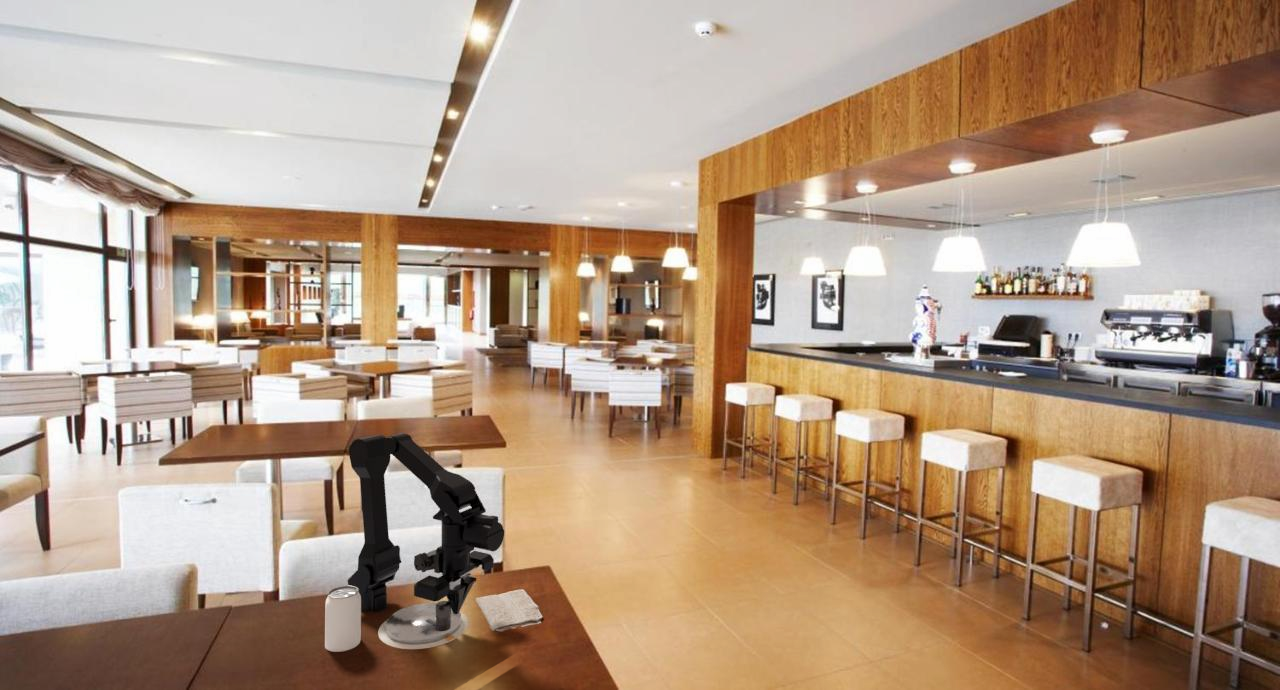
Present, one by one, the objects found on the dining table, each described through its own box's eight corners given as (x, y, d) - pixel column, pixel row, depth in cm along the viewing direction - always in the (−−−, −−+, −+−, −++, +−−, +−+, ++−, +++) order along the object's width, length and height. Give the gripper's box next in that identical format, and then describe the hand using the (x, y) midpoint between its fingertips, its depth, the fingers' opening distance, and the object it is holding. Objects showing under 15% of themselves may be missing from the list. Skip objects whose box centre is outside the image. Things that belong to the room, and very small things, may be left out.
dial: (370, 629, 135) (371, 598, 135) (430, 603, 148) (430, 575, 147) (416, 652, 127) (417, 620, 126) (475, 623, 139) (476, 593, 139)
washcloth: (493, 642, 136) (493, 628, 135) (472, 606, 151) (472, 593, 151) (547, 631, 141) (547, 617, 141) (521, 597, 157) (521, 584, 157)
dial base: (359, 637, 135) (360, 628, 135) (431, 605, 150) (431, 598, 150) (414, 666, 125) (415, 657, 125) (485, 629, 140) (485, 621, 140)
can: (346, 661, 126) (347, 600, 125) (317, 656, 127) (317, 596, 126) (367, 644, 132) (368, 586, 131) (339, 640, 133) (339, 583, 133)
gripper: (455, 521, 147) (454, 587, 148) (392, 550, 130) (393, 625, 131) (495, 529, 143) (494, 598, 144) (436, 561, 126) (436, 638, 127)
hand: (455, 613), depth 137 cm, fingers closed
